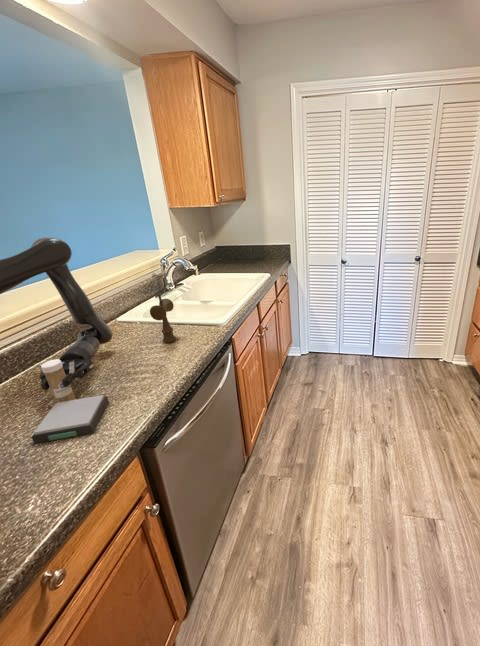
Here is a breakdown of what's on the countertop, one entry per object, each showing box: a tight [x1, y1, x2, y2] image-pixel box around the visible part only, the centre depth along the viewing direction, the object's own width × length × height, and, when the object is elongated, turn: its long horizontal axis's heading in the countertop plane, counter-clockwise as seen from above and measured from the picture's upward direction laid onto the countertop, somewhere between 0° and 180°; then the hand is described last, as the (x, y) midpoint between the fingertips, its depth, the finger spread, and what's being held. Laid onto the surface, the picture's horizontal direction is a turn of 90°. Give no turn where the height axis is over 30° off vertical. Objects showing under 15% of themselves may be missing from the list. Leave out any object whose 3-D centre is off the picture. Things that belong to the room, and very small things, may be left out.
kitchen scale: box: [31, 394, 110, 445], centre depth 85 cm, size 13×13×3 cm
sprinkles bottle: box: [40, 358, 77, 403], centre depth 90 cm, size 5×5×13 cm
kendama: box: [149, 292, 177, 343], centre depth 125 cm, size 6×10×20 cm, turn 1°
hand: (54, 385), depth 88 cm, fingers closed on sprinkles bottle, 4 cm apart
